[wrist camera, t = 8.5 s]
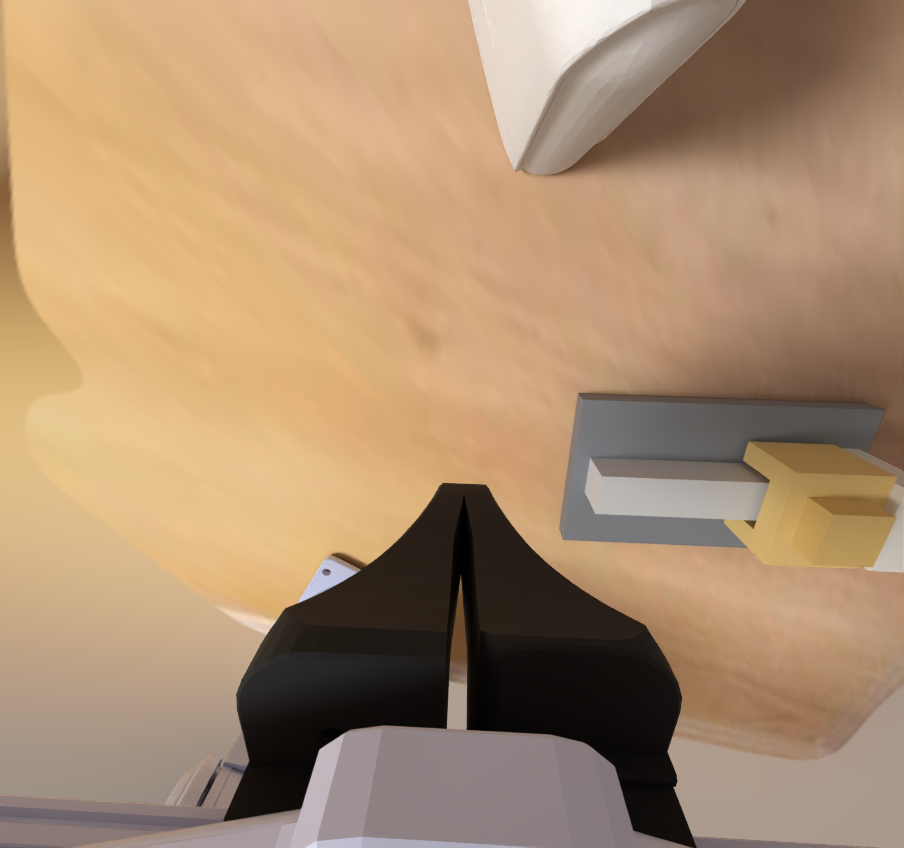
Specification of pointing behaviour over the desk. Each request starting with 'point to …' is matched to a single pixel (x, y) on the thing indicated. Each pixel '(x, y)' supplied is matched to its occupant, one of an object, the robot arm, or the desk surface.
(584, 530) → the rail board
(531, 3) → the photo printer
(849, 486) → the slider
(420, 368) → the desk surface
